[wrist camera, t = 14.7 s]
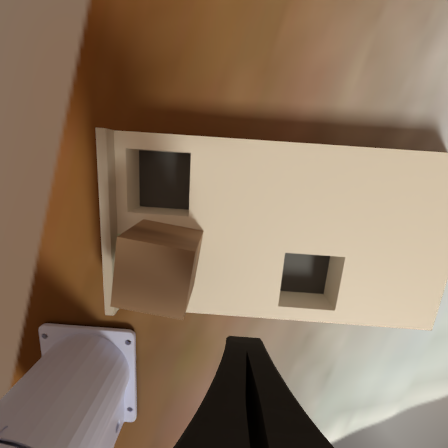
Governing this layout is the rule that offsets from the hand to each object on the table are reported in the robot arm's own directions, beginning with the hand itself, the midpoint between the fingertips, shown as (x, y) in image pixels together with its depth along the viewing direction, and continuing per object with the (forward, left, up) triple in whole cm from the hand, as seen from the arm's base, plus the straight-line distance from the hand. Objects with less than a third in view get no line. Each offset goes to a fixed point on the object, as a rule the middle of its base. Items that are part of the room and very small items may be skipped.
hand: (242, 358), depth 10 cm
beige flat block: (+3, -3, -10) cm, 11 cm away
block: (+1, +5, -7) cm, 9 cm away
